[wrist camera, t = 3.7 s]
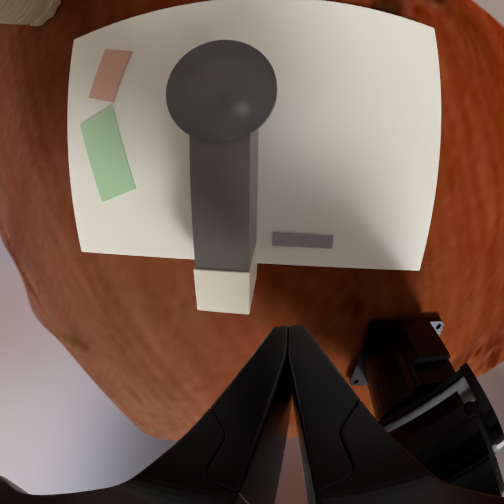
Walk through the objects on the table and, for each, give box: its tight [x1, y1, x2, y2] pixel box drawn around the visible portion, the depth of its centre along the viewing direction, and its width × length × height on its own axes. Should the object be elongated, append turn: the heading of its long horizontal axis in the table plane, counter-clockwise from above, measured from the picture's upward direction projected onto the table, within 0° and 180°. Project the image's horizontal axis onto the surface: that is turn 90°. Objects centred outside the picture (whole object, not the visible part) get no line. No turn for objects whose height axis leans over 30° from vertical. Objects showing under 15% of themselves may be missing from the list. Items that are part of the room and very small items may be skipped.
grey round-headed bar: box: [166, 40, 277, 314], centre depth 11 cm, size 11×4×4 cm, turn 179°
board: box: [67, 0, 441, 271], centre depth 13 cm, size 15×22×1 cm
